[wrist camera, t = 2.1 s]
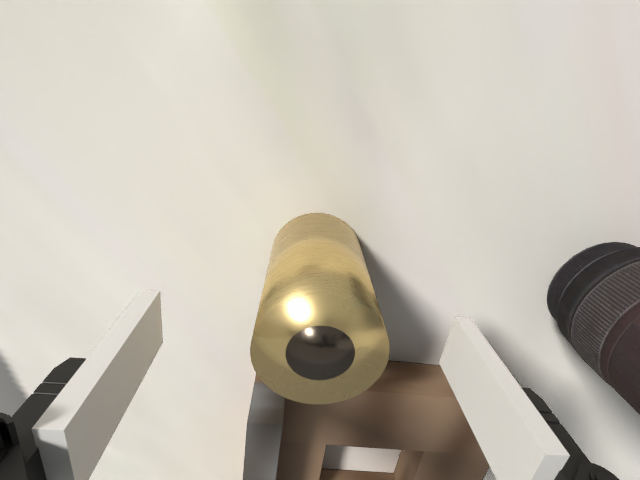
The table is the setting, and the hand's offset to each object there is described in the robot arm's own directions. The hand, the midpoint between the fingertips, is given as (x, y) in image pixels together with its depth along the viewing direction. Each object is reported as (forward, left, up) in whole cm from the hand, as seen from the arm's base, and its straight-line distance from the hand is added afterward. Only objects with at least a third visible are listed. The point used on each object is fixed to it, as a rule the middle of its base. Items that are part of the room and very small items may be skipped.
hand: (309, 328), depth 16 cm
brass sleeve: (0, 0, -7) cm, 7 cm away
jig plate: (-6, +17, -7) cm, 19 cm away
